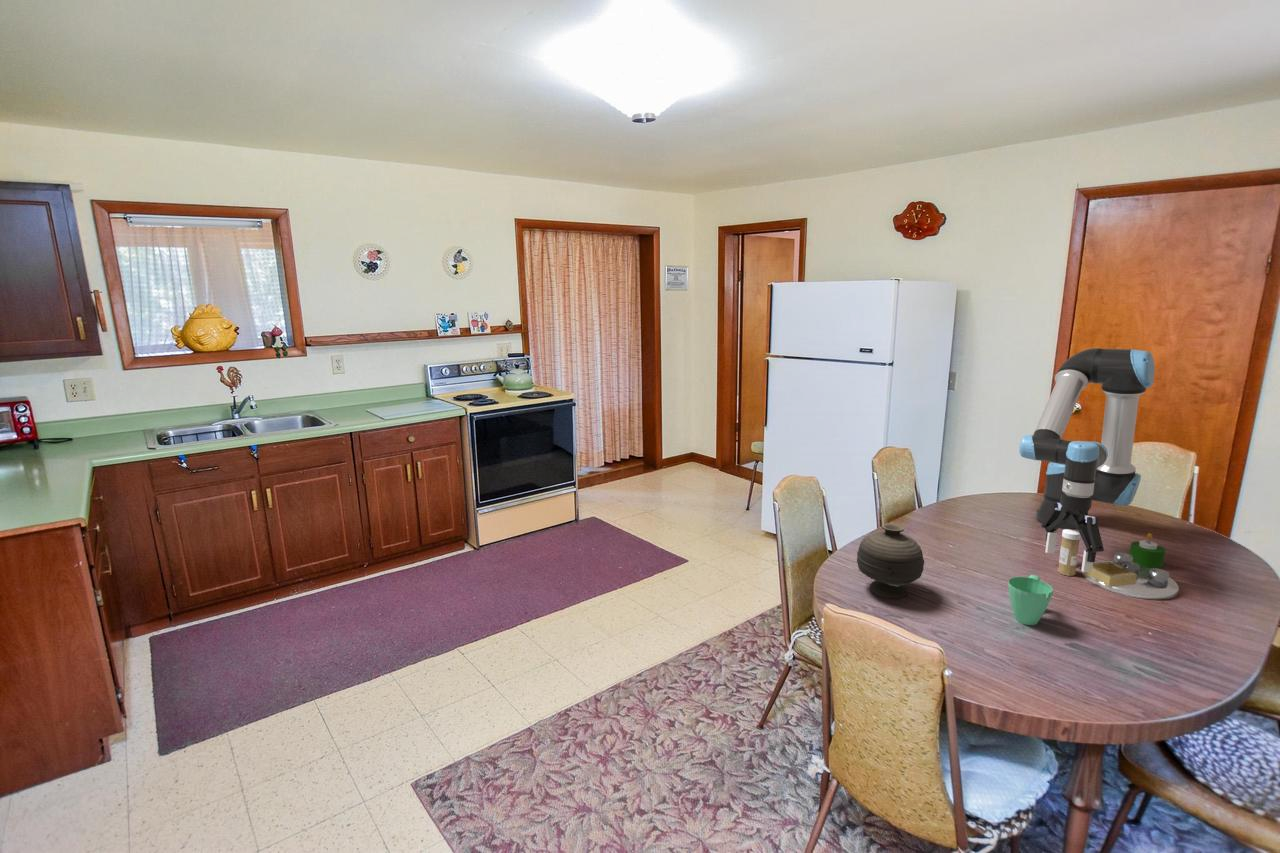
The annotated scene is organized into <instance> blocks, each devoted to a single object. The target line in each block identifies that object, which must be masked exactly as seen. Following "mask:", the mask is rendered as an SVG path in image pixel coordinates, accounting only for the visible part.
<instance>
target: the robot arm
mask: <svg viewBox="0 0 1280 853" xmlns="http://www.w3.org/2000/svg"><path fill="white" fill-rule="evenodd" d="M1154 376H1155V360H1154V356H1153V354H1152V353H1151V352H1150V351H1148V350H1139V349H1134V348H1133V349H1132V348H1130V349H1128V348H1124V349H1123V348H1100V347H1094V348H1093V347H1091V348H1087V349H1083V350H1081V351H1078V352H1077V353H1075V354H1073V355H1072V356H1070V357H1068V359H1066V360H1065V362H1063V363H1062V364H1061V365H1060V367H1059V368H1058V369H1057V371H1056V373H1055V375H1054V382H1055V384H1054V387H1053V389H1052V392H1051V393H1050V396H1049V397H1048V400H1047V402H1046V404H1045V407H1044V409H1043V412H1042V413H1041V416H1040V418H1039V421H1038V423H1037V425H1036V428H1035V429H1034V432H1033V434H1025V435H1023V436H1022V437H1021V440H1020V442H1019V450H1018V451H1019V455H1020V457H1022V458H1024V459H1029V460H1033V461H1041V462H1047V463H1048V464H1047V470H1046V472H1045V483H1044V490H1043V498H1042V501H1041V502H1040V504H1039V507H1038V509H1036V512H1035V516H1034V517H1035V520H1037V522H1039V523H1041V524H1040V525H1041V528H1044V529H1045V532H1046V534H1045V541H1046V544H1045V551H1044V552H1045V553H1046V554H1055V552H1056V546H1057V540H1058V529H1072V530H1075V529H1076V530H1077V531H1079V533H1080V535H1081V540H1082V542H1083V543H1084V546H1085V548H1086V549H1084V550H1083V555H1082V556H1083V557H1082V564H1081V572H1091V571H1092V566H1093V562H1095V561H1096V557H1097V553H1098V552H1102V553H1103V552H1104V551H1105V548H1104V544H1103V541H1102V536H1101V532H1100V528H1099V522H1098V521H1099V518H1098V517H1097V516H1090V515H1089V511H1090V510H1091V508H1092V503H1093V501H1095V502H1099V503H1105V504H1108V505H1109V504H1110V505H1113V506H1114V505H1116V506H1122V507H1128V506H1130V505H1131V504H1132V502H1133V501H1134V498H1135V496H1136V494H1137V492H1138V489H1139V486H1140V482H1141V477H1142V475H1141V474H1140V473H1137V472H1136V467H1135V465H1133V463H1132V456H1133V447H1134V440H1135V430H1136V424H1137V423H1136V422H1137V417H1138V416H1137V414H1138V407H1139V400H1140V396H1141V395H1143V394H1145V393H1146V391H1147V388H1151V387H1152V386H1153V385H1154V379H1155V377H1154ZM1089 384H1099V385H1100V384H1101V388H1100V390H1101V391H1102V392H1103V393H1104V394H1105V395H1106V396H1105V397H1106V398H1105V405H1104V415H1103V424H1102V430H1101V431H1102V432H1101V433H1102V434H1101V440H1100V441H1101V443H1100V442H1098V441H1086V440H1084V441H1083V440H1075V441H1073V440H1065V439H1062V438H1063V436H1064V433H1065V430H1066V429H1067V427H1068V423H1069V421H1070V419H1071V416H1072V414H1073V411H1074V409H1075V407H1076V404H1077V402H1078V400H1079V396H1080V395H1081V392H1082V390H1084V389H1086V388H1087V386H1088V385H1089Z"/></svg>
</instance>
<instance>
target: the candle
mask: <svg viewBox="0 0 1280 853" xmlns="http://www.w3.org/2000/svg"><path fill="white" fill-rule="evenodd" d="M1152 540H1153V533H1151V532H1149V533H1147V534H1146V539H1144V540H1143V539H1142V540H1139V541H1132V542H1131V543H1130V547H1129V553H1128V554H1130V555H1132V556H1133V561H1132V562H1134V563H1137V564H1139V565H1140V566H1141V567H1145V568H1148V569H1151V568H1157V569H1163V566H1164V560H1165V555H1166V554H1165V553H1166V549H1165V548H1164V547H1163V546H1161V545H1158V543H1157V542H1155V541H1152Z"/></svg>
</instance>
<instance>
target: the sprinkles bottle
mask: <svg viewBox="0 0 1280 853" xmlns="http://www.w3.org/2000/svg"><path fill="white" fill-rule="evenodd" d="M1061 533H1062V534H1061V537H1062V538H1061V544H1060V551H1059V558H1058V568H1057V572H1058V573H1059V574H1061V575H1063V576H1068V577H1071V576H1072V577H1073V576H1076V570H1077V563H1078V554H1079V545H1080V540H1081V539H1082V537H1081V535H1080V533H1079V531H1078V530H1077V529H1076V530H1075V529H1069V528H1063V530H1062V532H1061Z"/></svg>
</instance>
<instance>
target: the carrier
mask: <svg viewBox="0 0 1280 853" xmlns="http://www.w3.org/2000/svg"><path fill="white" fill-rule="evenodd" d="M1132 561H1133V556H1132V555H1130V554H1129V553H1126V552H1122V551H1121V552H1117V551H1116V552H1114V556H1113V561H1112V560H1095V562H1093V566H1092V571H1091V572H1082V571H1081V572H1082V576H1083V577H1084V579H1086V581H1088V582H1090V583H1091V584H1092V585H1095V587H1096V586H1097V587H1099V588H1101V589H1103V590H1106V591H1109V592H1112V593H1114V594H1118V595H1121V596H1126V597H1129V598H1130V597H1131V598H1136V599H1143V600H1151V601H1152V600H1153V601H1156V600H1157V601H1158V600H1159V601H1160V600H1161V601H1162V600H1164V599H1165V600H1169V599H1173V598H1175V597H1176V596H1178V594H1179V584H1178V583H1177V582H1176V581H1175V580H1174V579H1172V578H1171V577H1170V572H1169V571H1167V570H1166V569H1165V570H1164V569H1163V568H1160V569H1157V568H1151V569H1149V568H1145V567H1141V566H1140V565H1139V564H1137V563H1134V562H1132Z"/></svg>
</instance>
